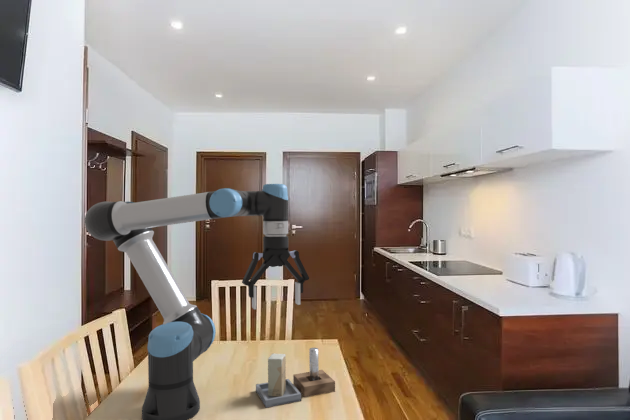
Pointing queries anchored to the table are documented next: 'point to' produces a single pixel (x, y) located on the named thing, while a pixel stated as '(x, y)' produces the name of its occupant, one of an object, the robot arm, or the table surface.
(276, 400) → the tray
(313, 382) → the brown block with hole
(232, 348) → the table surface
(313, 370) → the pin
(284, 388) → the box
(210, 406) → the table surface
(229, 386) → the table surface
